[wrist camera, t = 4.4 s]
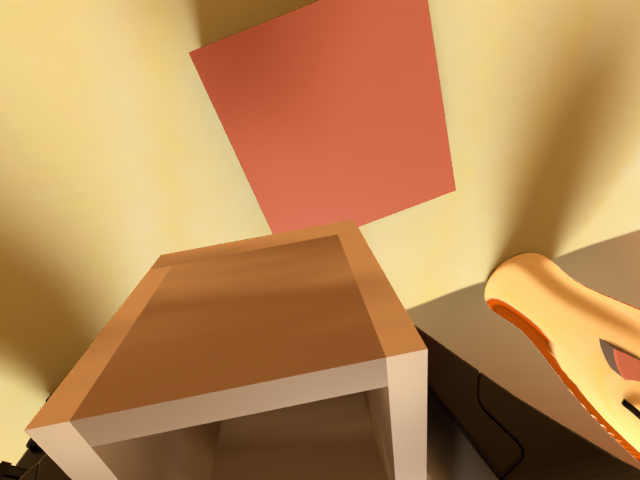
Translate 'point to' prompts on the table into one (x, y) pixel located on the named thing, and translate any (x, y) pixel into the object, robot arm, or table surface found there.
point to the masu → (249, 370)
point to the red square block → (334, 111)
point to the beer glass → (577, 338)
